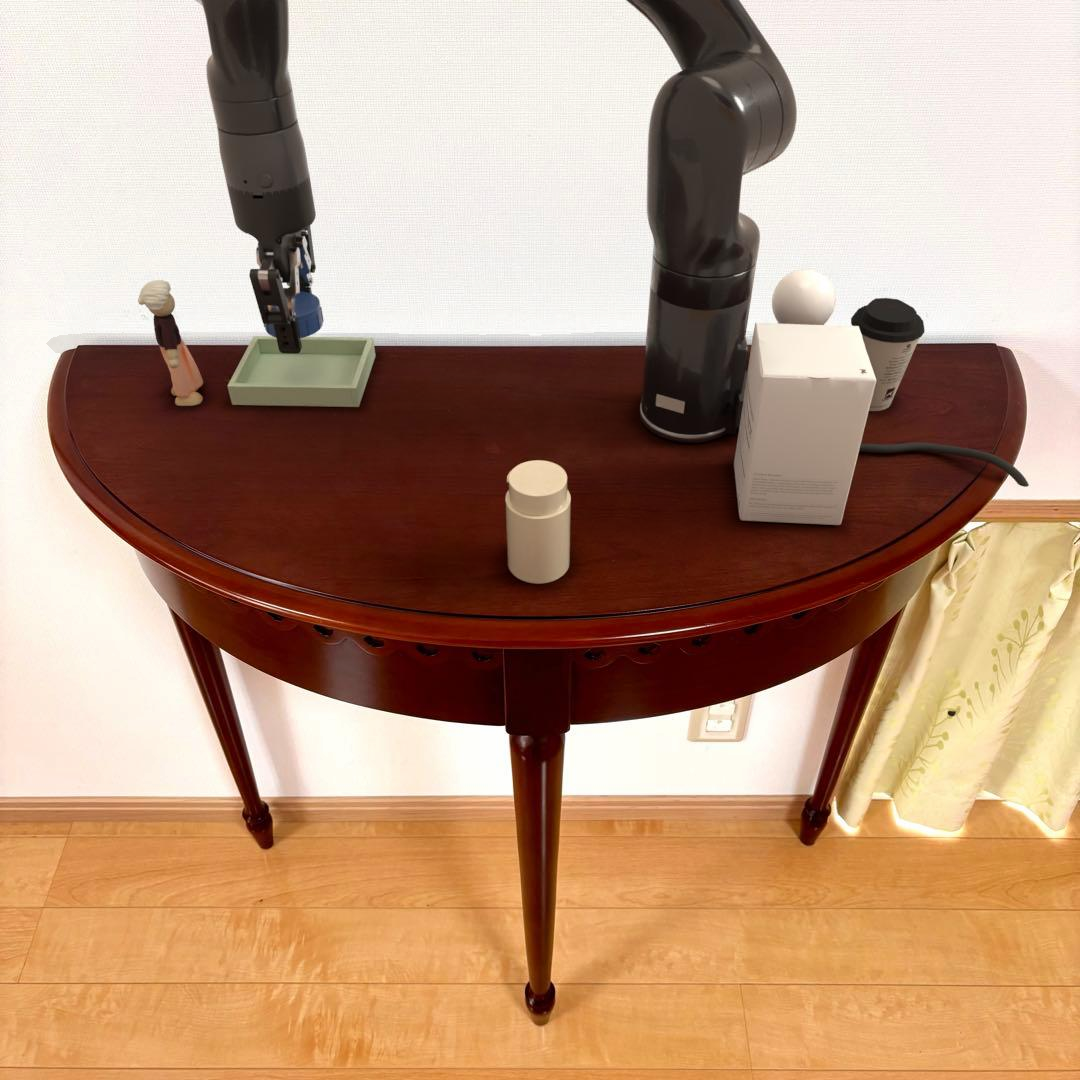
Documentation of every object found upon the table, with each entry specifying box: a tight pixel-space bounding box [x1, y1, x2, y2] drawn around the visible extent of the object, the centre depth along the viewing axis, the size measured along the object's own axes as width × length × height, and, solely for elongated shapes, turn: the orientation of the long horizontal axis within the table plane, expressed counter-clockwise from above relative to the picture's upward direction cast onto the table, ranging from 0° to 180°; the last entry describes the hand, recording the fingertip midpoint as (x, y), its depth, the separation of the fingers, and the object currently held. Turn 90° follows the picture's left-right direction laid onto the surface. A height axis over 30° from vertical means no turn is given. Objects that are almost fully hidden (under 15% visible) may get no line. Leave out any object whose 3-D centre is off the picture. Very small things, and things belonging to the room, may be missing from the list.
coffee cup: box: [850, 297, 926, 412], centre depth 96 cm, size 7×7×10 cm
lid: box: [263, 291, 325, 338], centre depth 98 cm, size 6×6×2 cm
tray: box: [226, 335, 377, 408], centre depth 102 cm, size 13×10×2 cm
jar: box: [504, 459, 572, 585], centre depth 78 cm, size 5×5×9 cm
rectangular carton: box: [733, 321, 876, 526], centre depth 82 cm, size 9×9×15 cm
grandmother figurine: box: [137, 279, 204, 407], centre depth 96 cm, size 8×4×13 cm, turn 34°
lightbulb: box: [771, 268, 837, 325], centre depth 100 cm, size 6×6×11 cm
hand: (298, 335), depth 99 cm, fingers closed on lid, 5 cm apart
